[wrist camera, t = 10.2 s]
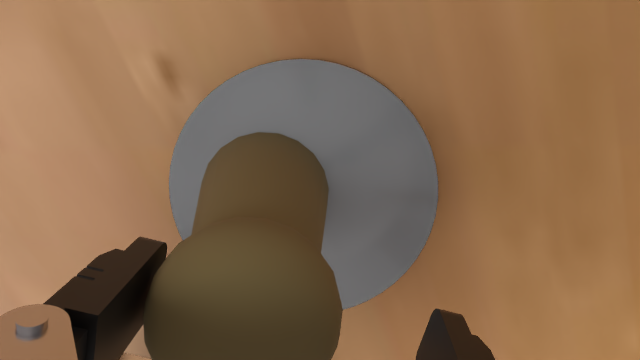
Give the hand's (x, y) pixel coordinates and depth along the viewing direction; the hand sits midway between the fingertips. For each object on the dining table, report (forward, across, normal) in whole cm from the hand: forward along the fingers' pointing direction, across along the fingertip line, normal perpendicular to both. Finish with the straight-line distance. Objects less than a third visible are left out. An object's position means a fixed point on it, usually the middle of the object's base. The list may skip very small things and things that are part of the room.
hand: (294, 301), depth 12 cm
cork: (+8, +2, 0) cm, 9 cm away
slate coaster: (+10, 0, 0) cm, 10 cm away
